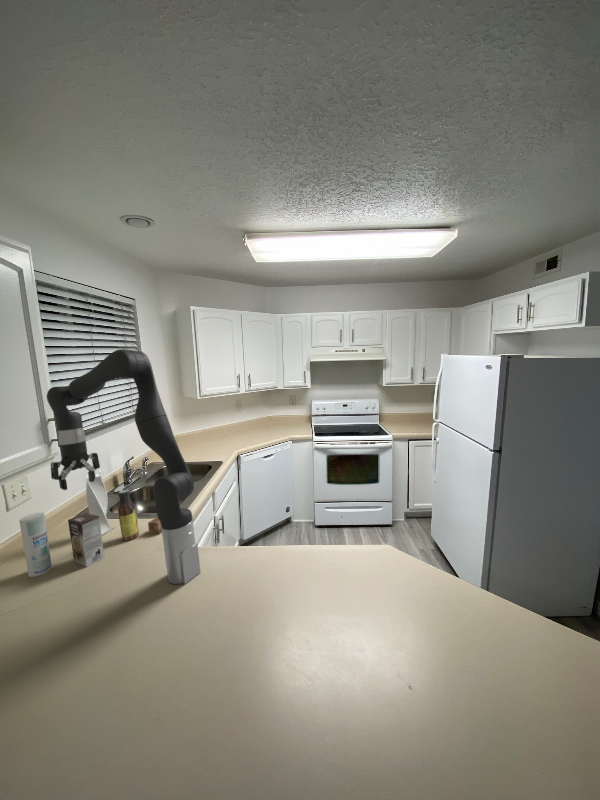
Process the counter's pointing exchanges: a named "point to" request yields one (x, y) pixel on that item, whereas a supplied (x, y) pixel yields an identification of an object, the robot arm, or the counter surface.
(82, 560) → the coffee box
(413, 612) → the counter surface
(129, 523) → the sauce bottle
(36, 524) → the spray can
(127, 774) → the counter surface
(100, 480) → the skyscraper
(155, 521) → the walnut block
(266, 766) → the counter surface
